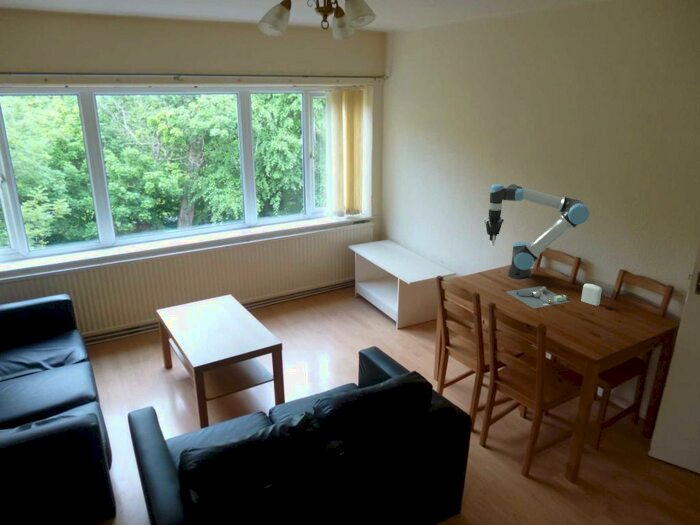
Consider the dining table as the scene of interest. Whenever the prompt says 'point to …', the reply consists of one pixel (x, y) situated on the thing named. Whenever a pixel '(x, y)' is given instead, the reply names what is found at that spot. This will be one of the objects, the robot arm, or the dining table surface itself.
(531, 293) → the grey metal branched piece
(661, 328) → the dining table surface
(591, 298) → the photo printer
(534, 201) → the robot arm
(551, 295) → the level board
